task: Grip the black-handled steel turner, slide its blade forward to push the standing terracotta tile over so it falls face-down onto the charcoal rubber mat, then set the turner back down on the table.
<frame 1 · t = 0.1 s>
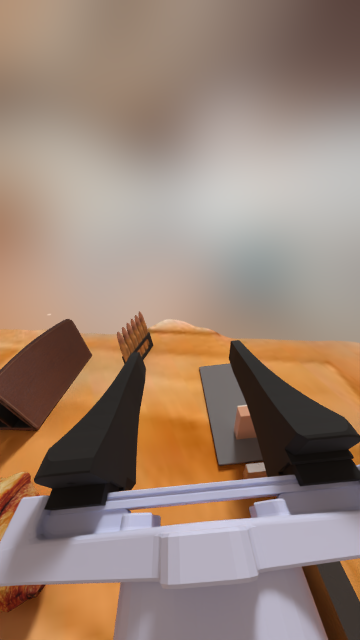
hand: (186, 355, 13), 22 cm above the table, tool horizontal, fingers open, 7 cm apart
tile: (256, 431, 26), resting on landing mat
ammunition clip: (141, 358, 44), on the table
turner: (300, 543, 17), on the table
letter holder: (53, 386, 39), on the table
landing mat: (243, 401, 31), on the table
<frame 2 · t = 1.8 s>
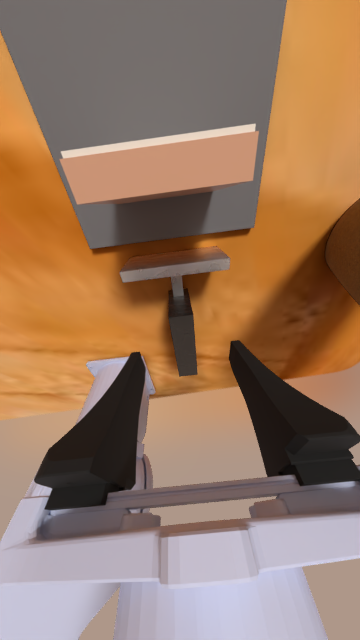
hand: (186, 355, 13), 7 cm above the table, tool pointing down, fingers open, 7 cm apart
tile: (164, 184, 12), resting on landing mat
turner: (180, 305, 18), on the table
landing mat: (148, 54, 9), on the table
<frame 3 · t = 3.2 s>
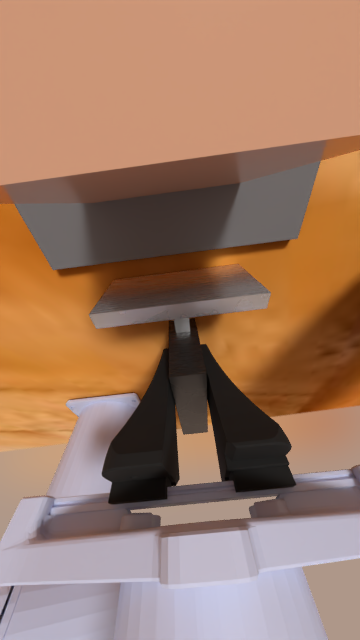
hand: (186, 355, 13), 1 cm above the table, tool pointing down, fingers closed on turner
tile: (162, 171, 7), resting on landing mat
turner: (184, 338, 14), on the table, touching gripper
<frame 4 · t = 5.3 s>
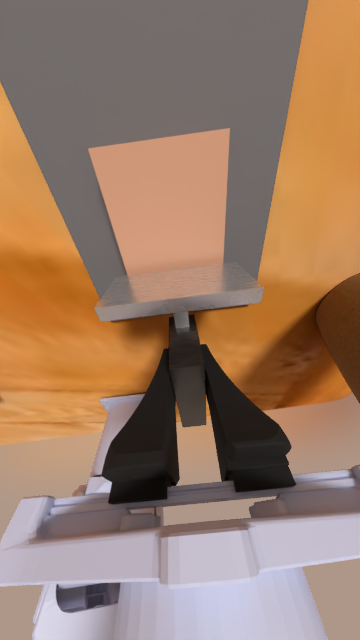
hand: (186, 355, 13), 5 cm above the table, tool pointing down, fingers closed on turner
tile: (175, 272, 13), point 1 cm above the table, tilted 90°, touching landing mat
plant pot: (350, 300, 17), on the table
turner: (183, 334, 14), point 3 cm above the table, touching gripper
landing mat: (166, 198, 11), on the table
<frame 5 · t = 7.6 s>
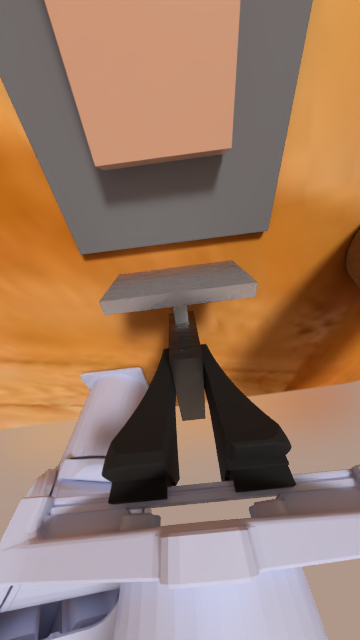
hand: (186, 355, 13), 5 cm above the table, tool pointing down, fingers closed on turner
tile: (163, 160, 9), point 1 cm above the table, tilted 90°, touching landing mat
turner: (183, 330, 15), point 2 cm above the table, touching gripper
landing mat: (146, 16, 7), on the table
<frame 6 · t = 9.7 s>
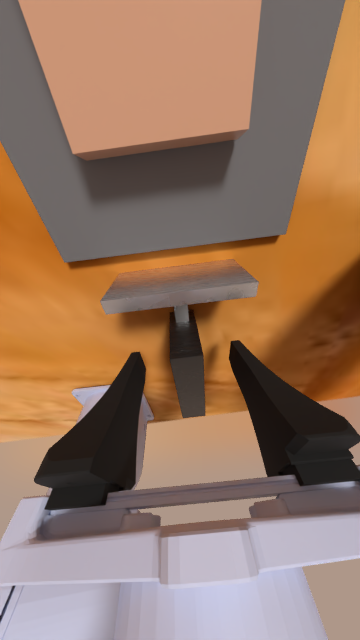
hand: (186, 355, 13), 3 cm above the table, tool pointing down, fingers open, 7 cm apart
tile: (160, 146, 7), point 1 cm above the table, tilted 90°, touching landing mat
turner: (183, 329, 15), on the table
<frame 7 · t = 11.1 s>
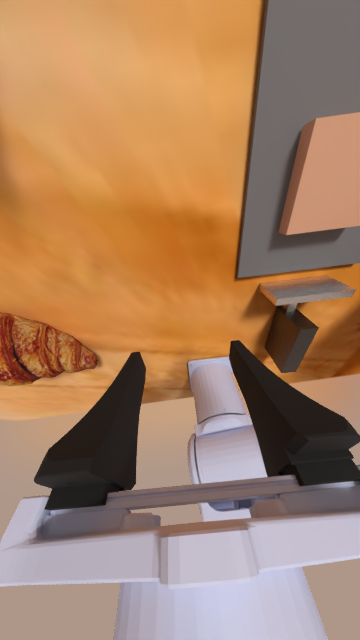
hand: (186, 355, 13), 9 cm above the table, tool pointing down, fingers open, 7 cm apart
tile: (318, 229, 15), point 1 cm above the table, tilted 90°, touching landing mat
croissant: (24, 332, 23), on the table
turner: (280, 317, 23), on the table
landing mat: (329, 164, 14), on the table
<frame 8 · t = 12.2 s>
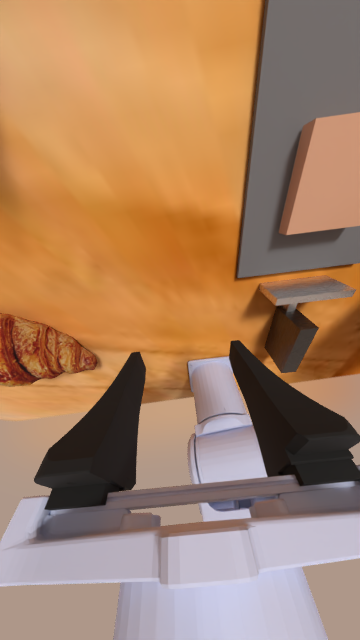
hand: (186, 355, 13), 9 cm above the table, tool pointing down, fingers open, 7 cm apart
tile: (318, 229, 15), point 1 cm above the table, tilted 90°, touching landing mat
croissant: (24, 333, 23), on the table
turner: (280, 317, 23), on the table
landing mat: (329, 164, 14), on the table
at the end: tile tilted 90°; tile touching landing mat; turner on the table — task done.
